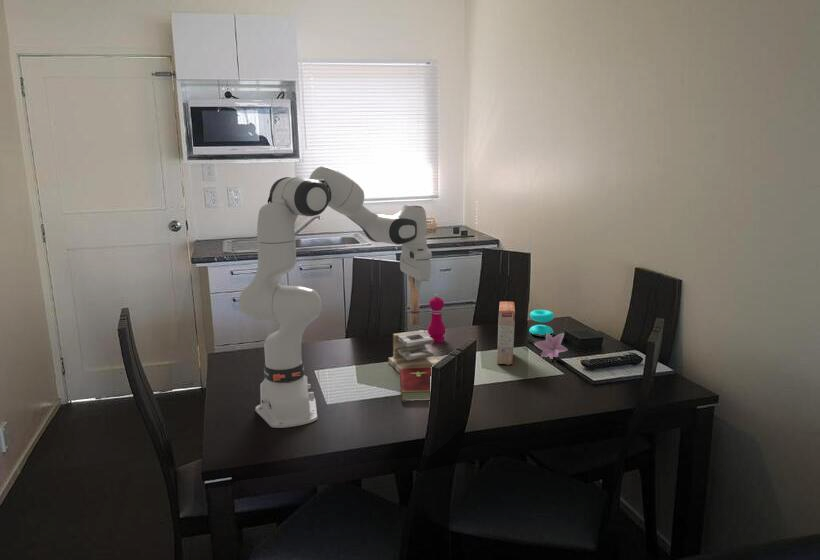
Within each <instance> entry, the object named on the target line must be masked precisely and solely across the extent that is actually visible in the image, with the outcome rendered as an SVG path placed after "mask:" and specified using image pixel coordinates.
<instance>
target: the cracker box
mask: <svg viewBox="0 0 820 560" xmlns="http://www.w3.org/2000/svg"><path fill="white" fill-rule="evenodd" d="M498 308H499V309H498V323H497V327H498V328H497V329H498V330H497V357H496V358H497V361H496V362H497V365H498V364H512V365H514V363H513V362H514V361H513V360H514V359H513V358H514V344H515V343H514V342H515V322H516V321H515V319H516V317H515V316H516V309H515V302H514V301H499V307H498Z"/></svg>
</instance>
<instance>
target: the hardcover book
mask: <svg viewBox="0 0 820 560" xmlns="http://www.w3.org/2000/svg"><path fill="white" fill-rule="evenodd" d="M430 376H431V367H420V368H401V369H400V373H399V381H400V383H399V384H400V386H399V387H400V398H401V399H400V400H404V399H426V398H427V399H429V397H430Z"/></svg>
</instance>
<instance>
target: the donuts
mask: <svg viewBox="0 0 820 560" xmlns="http://www.w3.org/2000/svg"><path fill="white" fill-rule="evenodd" d="M554 317H555V314H554V312H553V311H551V310H547V309H535V310H531V311H530V312H529V318H530V319H531V320H533V321H534V322H538V323H548V322H551V321H552V320H554ZM529 332H530V333H532V334H539V335H545V334H547V332H548V333H549V334H551V333H553V334H554V330H553V328H552V327H551V326H549V325H545V324H534V325H532V326H530V328H529ZM530 333H529V334H530Z"/></svg>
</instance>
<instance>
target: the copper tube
mask: <svg viewBox="0 0 820 560" xmlns="http://www.w3.org/2000/svg"><path fill="white" fill-rule="evenodd" d="M414 285H415V278H413V277H411V276H410V286H409V291H410V292H409V295H410V296H409V298H410V299H409V300H410V302H409V303H410V305H409V308H410V309H409V310H410V311H409V313H410V315H409V318H410V325H412V326H417V325H419V324H420V290H415V289H414Z"/></svg>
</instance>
